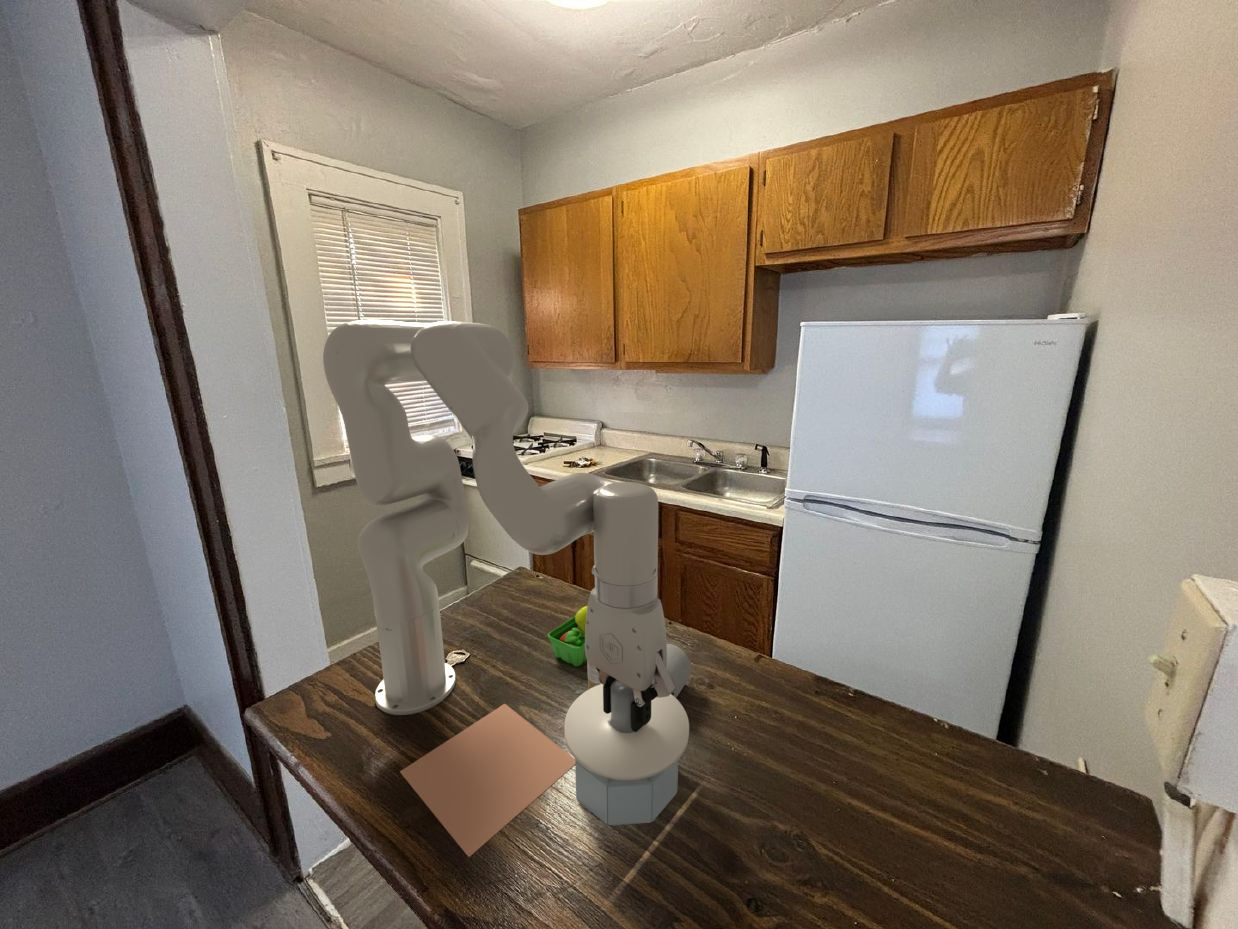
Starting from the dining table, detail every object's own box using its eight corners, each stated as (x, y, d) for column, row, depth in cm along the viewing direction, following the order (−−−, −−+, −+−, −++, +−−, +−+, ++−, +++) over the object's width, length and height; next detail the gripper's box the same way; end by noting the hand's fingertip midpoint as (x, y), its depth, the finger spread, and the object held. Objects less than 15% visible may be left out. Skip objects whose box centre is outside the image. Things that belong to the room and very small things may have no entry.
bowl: (556, 783, 63) (554, 745, 62) (620, 727, 72) (620, 693, 71) (631, 849, 55) (632, 807, 53) (693, 775, 64) (694, 738, 63)
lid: (538, 731, 61) (536, 692, 59) (620, 670, 73) (620, 636, 71) (635, 807, 51) (635, 762, 49) (712, 721, 62) (714, 682, 61)
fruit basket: (585, 631, 98) (584, 580, 95) (620, 646, 93) (620, 593, 90) (546, 659, 89) (544, 604, 86) (582, 677, 84) (581, 620, 81)
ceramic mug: (694, 684, 82) (694, 644, 80) (675, 715, 75) (675, 672, 73) (639, 666, 87) (639, 628, 85) (616, 693, 80) (616, 652, 78)
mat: (400, 774, 64) (399, 771, 64) (504, 706, 77) (504, 703, 77) (469, 860, 53) (468, 857, 53) (578, 764, 66) (578, 761, 66)
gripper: (556, 576, 60) (561, 701, 64) (664, 623, 49) (662, 771, 53) (597, 557, 65) (599, 674, 69) (702, 596, 54) (698, 731, 59)
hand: (626, 714), depth 61 cm, fingers closed on lid, 4 cm apart
